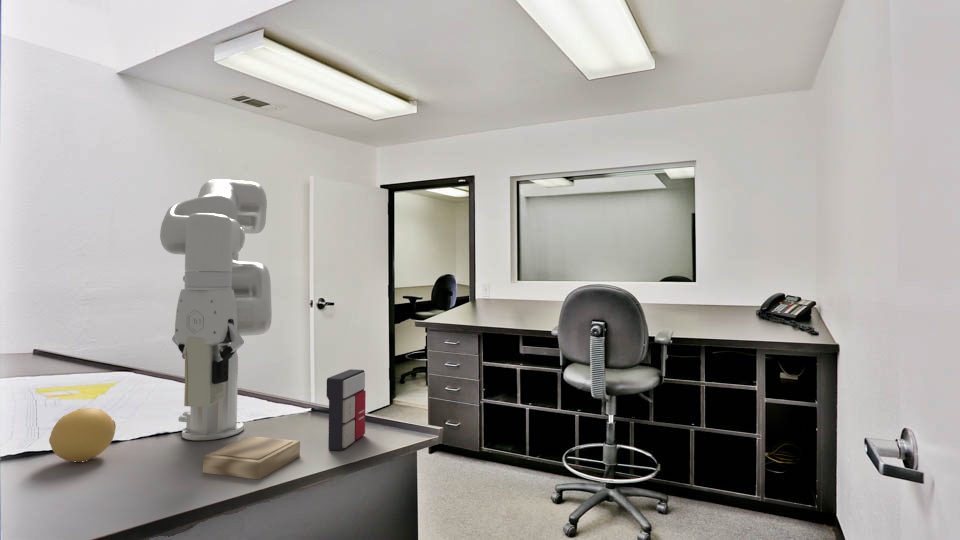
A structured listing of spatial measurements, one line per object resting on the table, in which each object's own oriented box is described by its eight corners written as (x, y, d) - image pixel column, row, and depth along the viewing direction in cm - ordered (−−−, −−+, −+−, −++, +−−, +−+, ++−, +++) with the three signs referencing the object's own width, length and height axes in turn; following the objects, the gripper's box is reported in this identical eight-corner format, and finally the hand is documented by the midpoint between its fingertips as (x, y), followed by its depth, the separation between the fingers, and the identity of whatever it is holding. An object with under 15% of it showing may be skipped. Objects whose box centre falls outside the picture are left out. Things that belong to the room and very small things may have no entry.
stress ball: (100, 470, 92) (137, 425, 100) (58, 441, 87) (101, 395, 95) (66, 472, 96) (104, 427, 103) (23, 443, 90) (67, 399, 98)
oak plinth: (203, 472, 90) (203, 455, 90) (248, 450, 101) (249, 435, 101) (259, 479, 87) (259, 461, 87) (299, 456, 98) (299, 440, 98)
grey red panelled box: (344, 451, 101) (345, 379, 101) (325, 450, 102) (326, 378, 102) (366, 435, 112) (367, 369, 112) (349, 434, 113) (350, 368, 113)
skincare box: (202, 398, 92) (204, 333, 92) (226, 398, 92) (227, 333, 92) (182, 407, 85) (184, 337, 86) (208, 407, 85) (209, 338, 86)
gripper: (153, 281, 88) (150, 382, 87) (232, 282, 83) (230, 389, 83) (188, 280, 95) (186, 374, 95) (262, 282, 90) (260, 380, 90)
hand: (206, 380), depth 89 cm, fingers closed on skincare box, 5 cm apart
